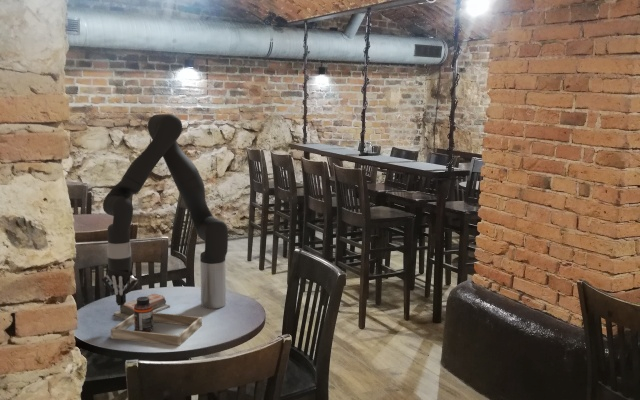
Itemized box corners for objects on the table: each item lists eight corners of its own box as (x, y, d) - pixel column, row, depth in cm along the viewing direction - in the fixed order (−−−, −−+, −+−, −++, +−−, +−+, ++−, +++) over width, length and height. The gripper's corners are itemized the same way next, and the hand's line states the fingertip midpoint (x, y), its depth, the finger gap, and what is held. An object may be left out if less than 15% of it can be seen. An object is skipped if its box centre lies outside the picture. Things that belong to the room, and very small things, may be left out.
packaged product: (151, 291, 244) (170, 296, 238) (151, 303, 245) (170, 308, 239) (112, 303, 229) (131, 309, 223) (113, 316, 230) (132, 322, 224)
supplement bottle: (133, 328, 218) (132, 296, 216) (151, 326, 220) (150, 294, 218) (136, 334, 212) (134, 301, 210) (154, 332, 215) (153, 299, 213)
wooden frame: (137, 319, 226) (137, 311, 226) (201, 325, 221) (201, 317, 221) (111, 338, 209) (110, 329, 208) (179, 345, 204) (179, 336, 203)
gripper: (143, 253, 216) (144, 303, 219) (107, 250, 218) (109, 299, 221) (132, 259, 208) (133, 310, 211) (95, 256, 211) (97, 306, 214)
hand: (121, 304), depth 216 cm, fingers closed
